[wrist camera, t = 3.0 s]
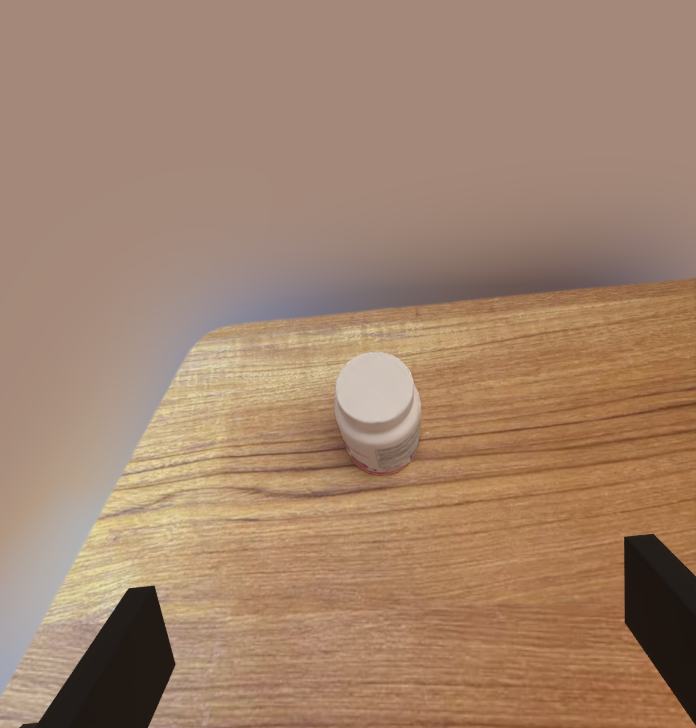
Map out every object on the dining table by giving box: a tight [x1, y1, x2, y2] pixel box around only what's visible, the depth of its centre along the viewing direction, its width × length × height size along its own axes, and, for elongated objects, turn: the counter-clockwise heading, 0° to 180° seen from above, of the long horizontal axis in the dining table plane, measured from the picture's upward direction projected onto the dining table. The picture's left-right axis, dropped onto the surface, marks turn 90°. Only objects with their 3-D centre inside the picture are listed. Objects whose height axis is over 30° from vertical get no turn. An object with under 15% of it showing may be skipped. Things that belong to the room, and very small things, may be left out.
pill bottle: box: [334, 352, 421, 475], centre depth 28 cm, size 5×5×8 cm
